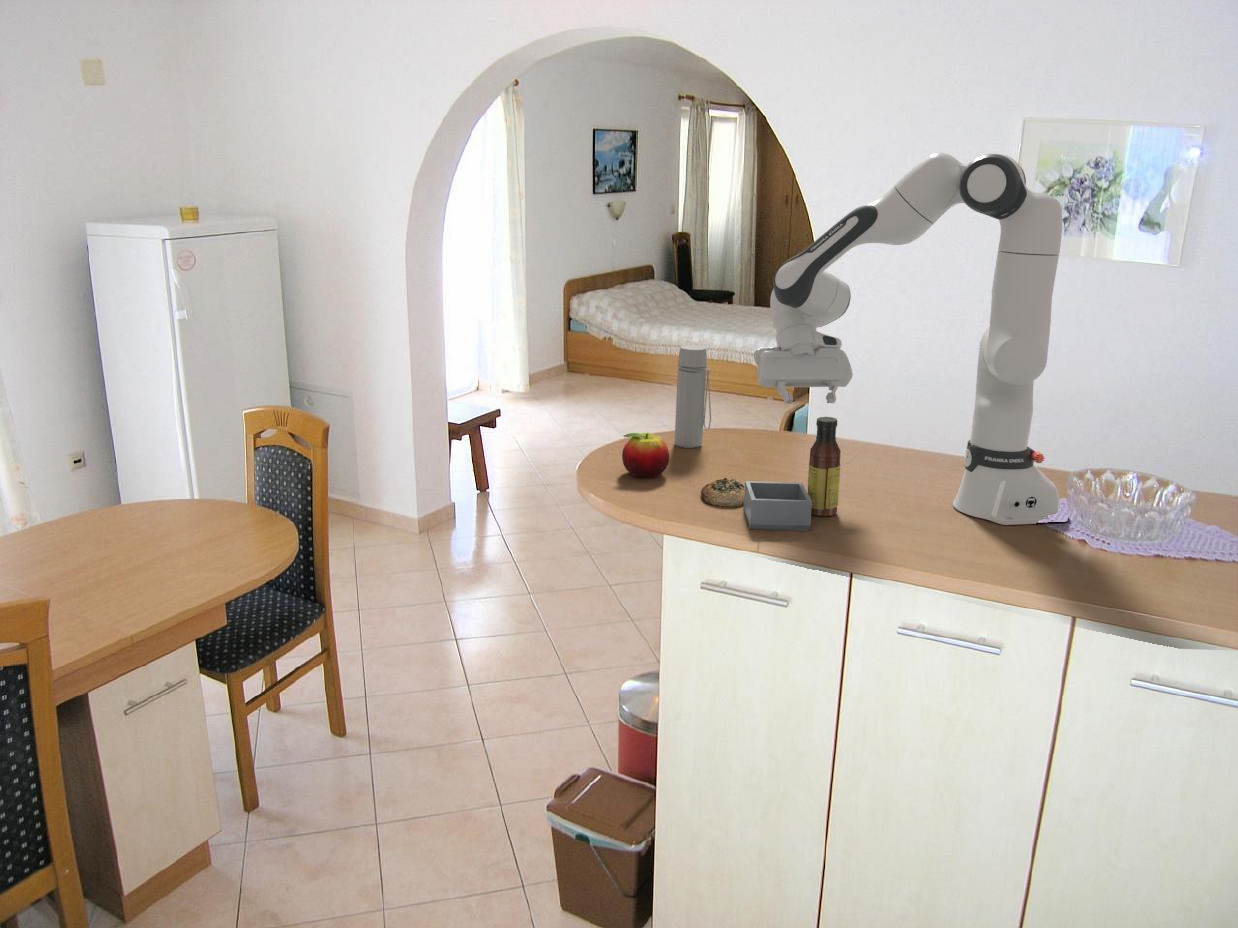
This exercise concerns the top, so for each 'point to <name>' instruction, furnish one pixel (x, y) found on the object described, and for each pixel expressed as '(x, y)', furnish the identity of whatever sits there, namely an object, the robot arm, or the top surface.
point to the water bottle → (691, 396)
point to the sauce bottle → (824, 469)
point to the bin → (777, 506)
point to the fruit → (645, 455)
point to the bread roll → (724, 493)
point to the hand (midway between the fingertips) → (810, 402)
